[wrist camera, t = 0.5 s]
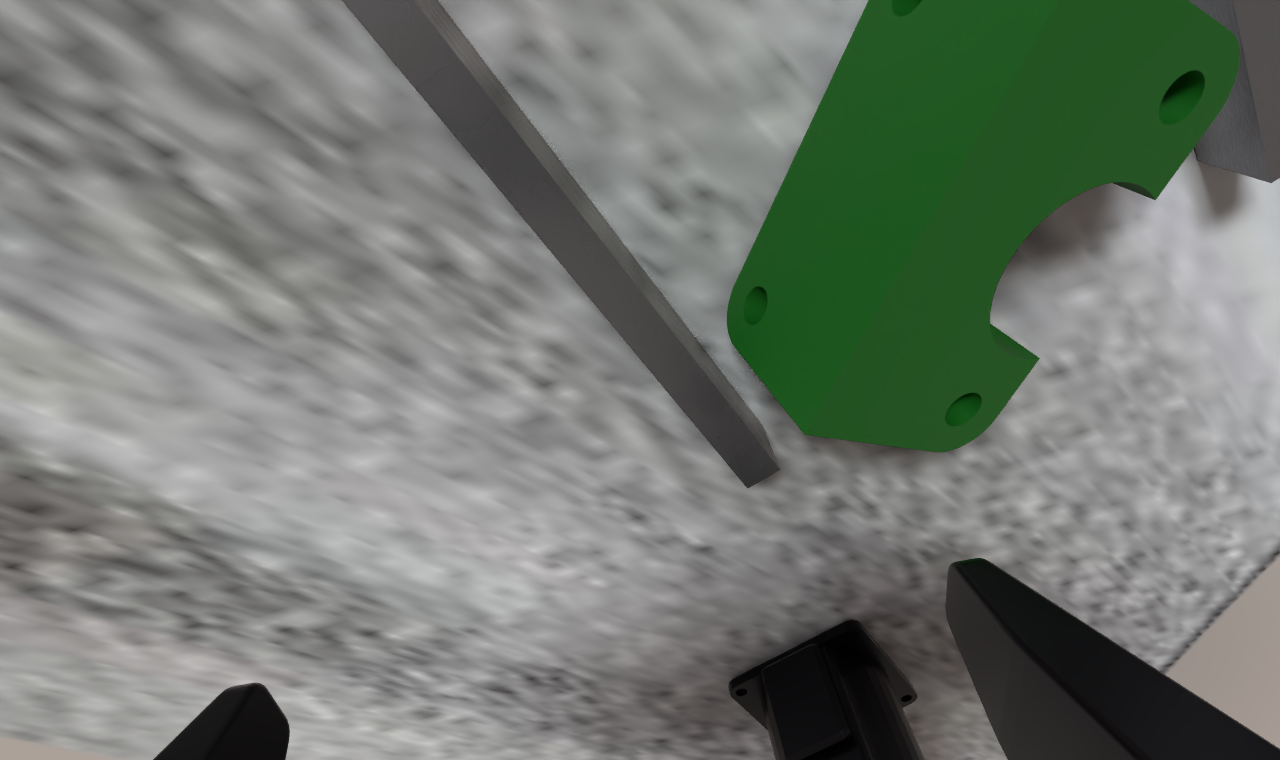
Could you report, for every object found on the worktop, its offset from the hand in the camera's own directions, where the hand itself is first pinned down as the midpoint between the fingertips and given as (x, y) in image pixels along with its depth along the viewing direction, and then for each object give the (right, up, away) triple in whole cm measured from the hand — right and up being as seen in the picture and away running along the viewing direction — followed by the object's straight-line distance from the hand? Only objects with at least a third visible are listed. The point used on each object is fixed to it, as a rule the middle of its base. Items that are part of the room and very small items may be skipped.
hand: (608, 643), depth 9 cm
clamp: (+8, +9, +11) cm, 17 cm away
